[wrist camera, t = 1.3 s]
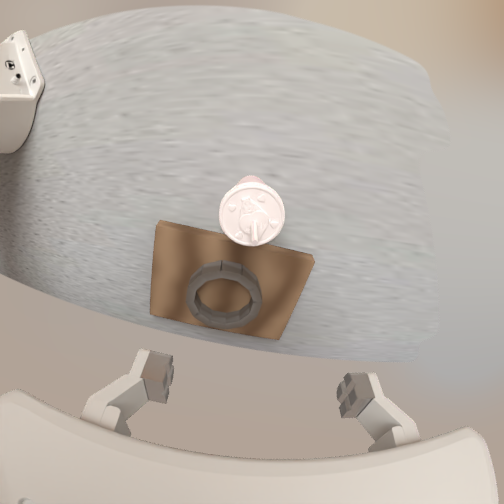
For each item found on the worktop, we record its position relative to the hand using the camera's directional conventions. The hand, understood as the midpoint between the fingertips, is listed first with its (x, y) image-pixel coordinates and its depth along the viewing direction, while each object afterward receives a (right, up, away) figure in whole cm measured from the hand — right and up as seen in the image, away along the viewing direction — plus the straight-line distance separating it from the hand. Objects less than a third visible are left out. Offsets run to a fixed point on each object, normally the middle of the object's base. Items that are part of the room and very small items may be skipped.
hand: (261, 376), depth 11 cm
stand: (-4, +1, +30) cm, 30 cm away
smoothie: (-1, +14, +23) cm, 27 cm away
